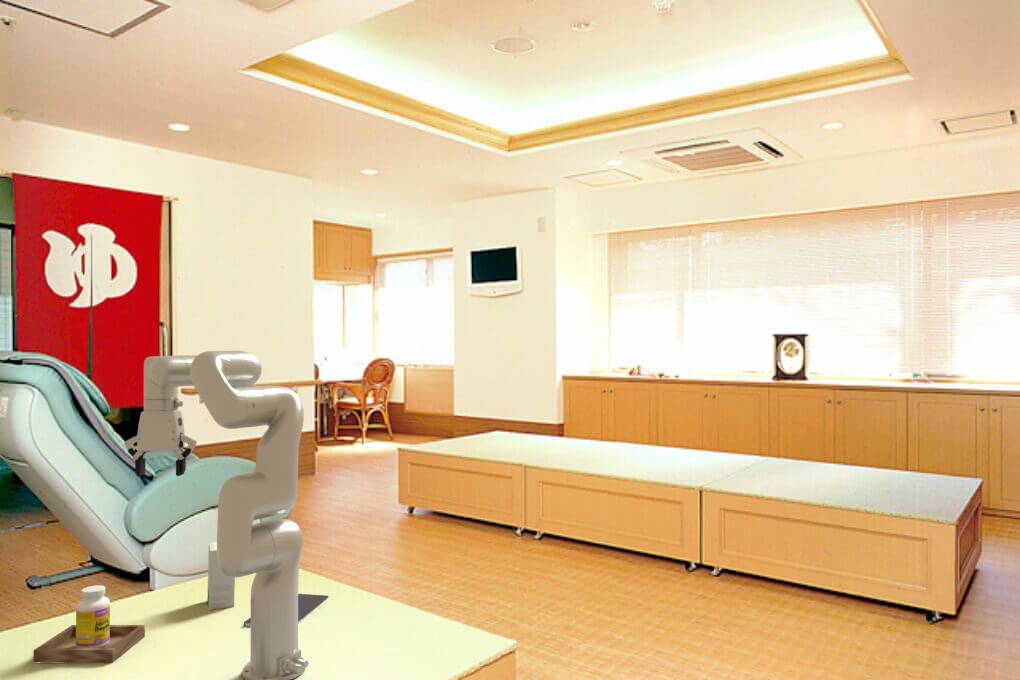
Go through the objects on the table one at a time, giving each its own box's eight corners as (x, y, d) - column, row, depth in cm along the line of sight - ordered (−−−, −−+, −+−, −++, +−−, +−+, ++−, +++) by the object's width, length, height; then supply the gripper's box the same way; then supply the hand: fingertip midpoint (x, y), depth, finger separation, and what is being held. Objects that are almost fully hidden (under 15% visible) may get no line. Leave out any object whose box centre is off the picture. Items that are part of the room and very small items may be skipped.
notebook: (285, 598, 198) (243, 628, 177) (285, 592, 198) (243, 622, 177) (329, 601, 196) (292, 632, 175) (329, 595, 196) (292, 625, 175)
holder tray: (144, 636, 171) (144, 624, 171) (112, 662, 157) (112, 649, 157) (72, 637, 171) (72, 625, 171) (33, 663, 157) (33, 650, 157)
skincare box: (207, 600, 195) (207, 542, 195) (233, 596, 198) (233, 539, 198) (208, 610, 188) (209, 550, 188) (236, 606, 190) (236, 547, 190)
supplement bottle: (94, 653, 160) (94, 594, 160) (68, 650, 161) (68, 592, 161) (116, 641, 166) (116, 584, 166) (91, 638, 168) (91, 582, 168)
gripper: (202, 404, 184) (201, 472, 184) (133, 404, 184) (133, 472, 184) (189, 407, 177) (189, 477, 176) (117, 407, 176) (117, 478, 176)
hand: (160, 475), depth 180 cm, fingers open, 9 cm apart
